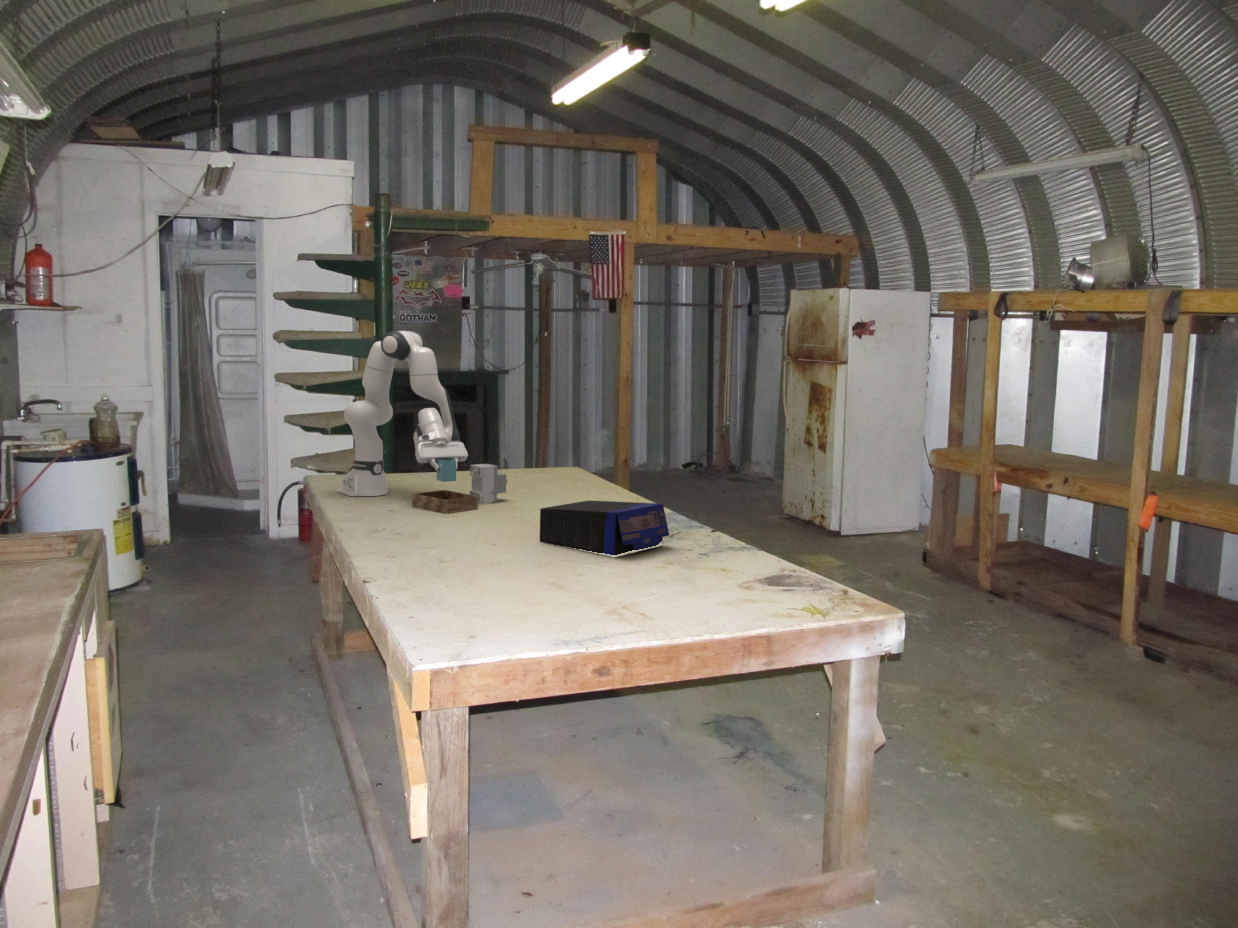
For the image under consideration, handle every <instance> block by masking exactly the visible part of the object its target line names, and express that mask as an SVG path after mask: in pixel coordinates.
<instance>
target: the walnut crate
mask: <svg viewBox="0 0 1238 928" xmlns="http://www.w3.org/2000/svg"><path fill="white" fill-rule="evenodd" d="M411 496H412V497H411V500H412V501H411V506H413V507H412V508H416V507H417V508H418V509H421V508H422V510H425V509H426V511H431V512H435V511H436V512H435V513H440V514H444V513H445V514H444V515H447V514H446V513H448V514H454V513H461V512H460V511H462V512H467V511H474V509H475V510H479V504H478V496H474V495H470V493H469V494H468V493H462V492H458V491H452V490H447V489H442V490H435V491H434V490H433V491H426V492H417V493H412V494H411Z"/></svg>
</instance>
